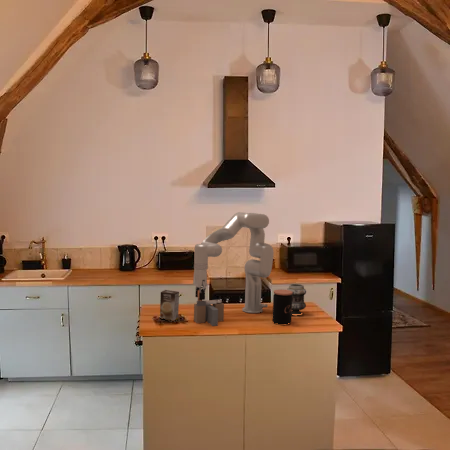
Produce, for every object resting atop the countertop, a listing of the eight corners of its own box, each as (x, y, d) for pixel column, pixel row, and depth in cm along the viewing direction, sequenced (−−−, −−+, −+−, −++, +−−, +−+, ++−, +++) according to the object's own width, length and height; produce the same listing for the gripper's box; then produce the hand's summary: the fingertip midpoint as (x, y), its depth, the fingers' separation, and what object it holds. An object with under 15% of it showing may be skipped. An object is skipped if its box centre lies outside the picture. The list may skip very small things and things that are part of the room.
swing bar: (220, 301, 291) (220, 288, 290) (222, 303, 288) (222, 289, 287) (196, 303, 286) (196, 289, 285) (198, 305, 283) (198, 290, 282)
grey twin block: (215, 315, 300) (216, 294, 299) (228, 324, 281) (229, 302, 280) (189, 317, 294) (190, 296, 293) (201, 327, 275) (201, 304, 274)
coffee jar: (286, 326, 281) (287, 294, 279) (268, 323, 287) (270, 291, 285) (294, 322, 290) (295, 291, 288) (277, 319, 296) (278, 288, 294)
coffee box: (159, 320, 287) (159, 291, 285) (164, 317, 293) (164, 289, 291) (174, 322, 284) (174, 293, 282) (178, 319, 290) (179, 291, 288)
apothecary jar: (298, 310, 316) (300, 282, 314) (309, 316, 305) (310, 286, 303) (281, 312, 311) (282, 283, 309) (291, 317, 300) (293, 287, 298)
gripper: (189, 263, 289) (188, 295, 291) (199, 269, 273) (198, 302, 275) (202, 263, 292) (201, 294, 294) (212, 268, 276) (211, 301, 278)
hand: (200, 298), depth 284 cm, fingers open, 5 cm apart
